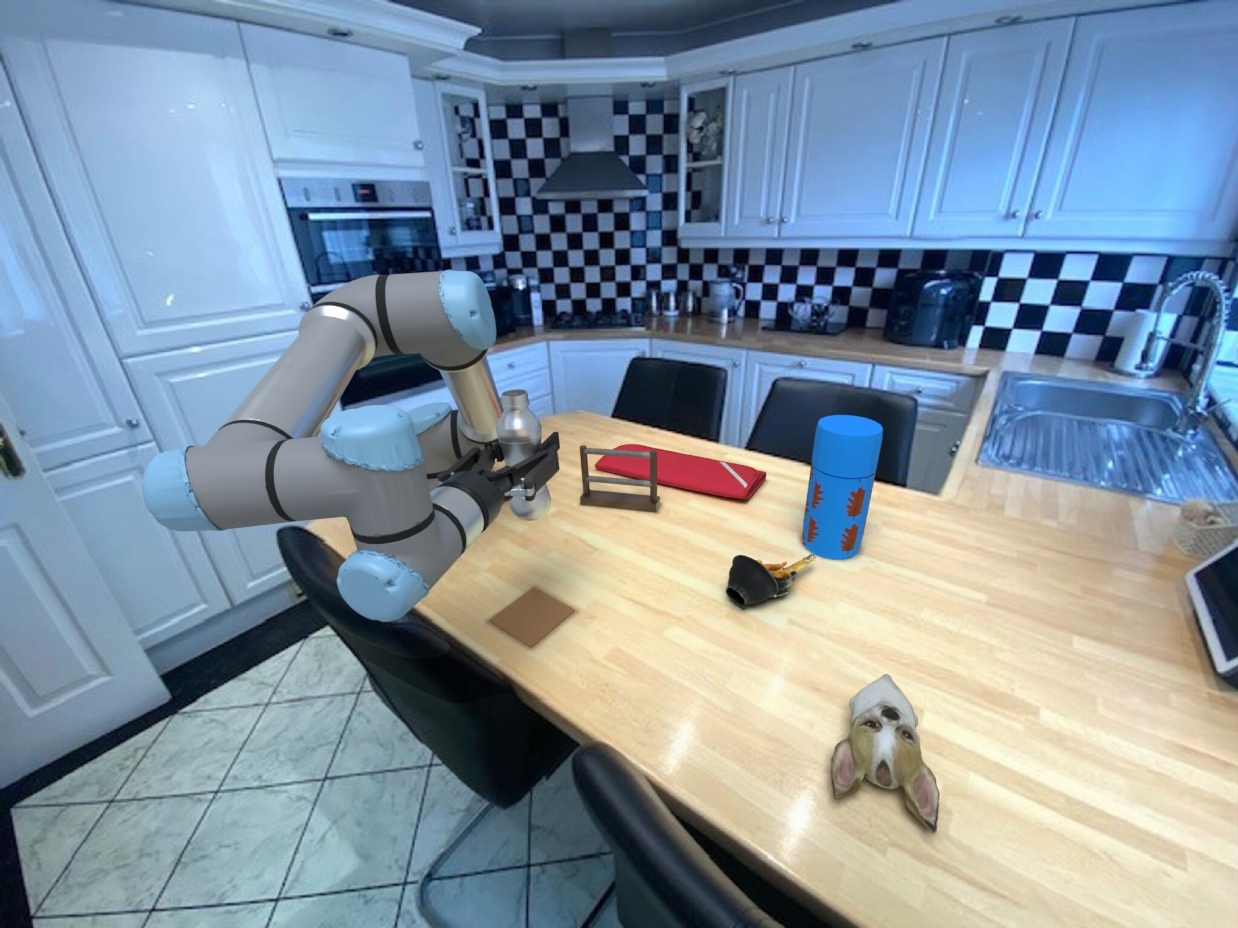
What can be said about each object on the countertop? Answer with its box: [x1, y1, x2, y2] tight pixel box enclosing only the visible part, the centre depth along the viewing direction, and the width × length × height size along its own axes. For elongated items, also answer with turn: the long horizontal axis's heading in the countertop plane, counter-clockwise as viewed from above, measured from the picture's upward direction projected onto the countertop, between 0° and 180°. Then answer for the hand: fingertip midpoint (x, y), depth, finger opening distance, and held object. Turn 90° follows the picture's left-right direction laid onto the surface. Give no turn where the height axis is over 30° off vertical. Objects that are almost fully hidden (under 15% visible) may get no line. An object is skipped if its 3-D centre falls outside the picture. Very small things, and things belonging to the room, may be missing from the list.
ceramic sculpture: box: [830, 673, 941, 835], centre depth 58 cm, size 11×9×15 cm
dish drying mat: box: [594, 443, 767, 500], centre depth 128 cm, size 16×41×4 cm, turn 58°
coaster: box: [489, 587, 576, 648], centre depth 84 cm, size 10×10×1 cm
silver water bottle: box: [496, 388, 552, 522], centre depth 75 cm, size 6×7×20 cm
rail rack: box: [579, 444, 661, 513], centre depth 114 cm, size 18×4×14 cm, turn 75°
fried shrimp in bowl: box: [725, 553, 817, 608], centre depth 87 cm, size 9×11×18 cm
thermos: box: [801, 414, 884, 561], centre depth 94 cm, size 11×11×25 cm
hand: (536, 438), depth 79 cm, fingers closed on silver water bottle, 6 cm apart
